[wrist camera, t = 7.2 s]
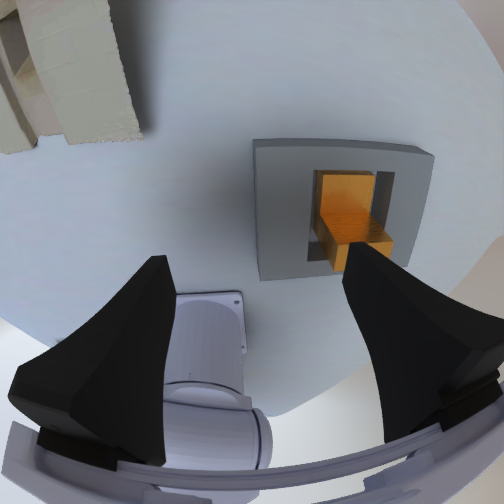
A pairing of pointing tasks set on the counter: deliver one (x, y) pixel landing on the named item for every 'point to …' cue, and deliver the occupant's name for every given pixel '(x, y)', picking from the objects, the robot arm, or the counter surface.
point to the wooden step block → (346, 214)
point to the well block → (300, 198)
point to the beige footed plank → (61, 75)
